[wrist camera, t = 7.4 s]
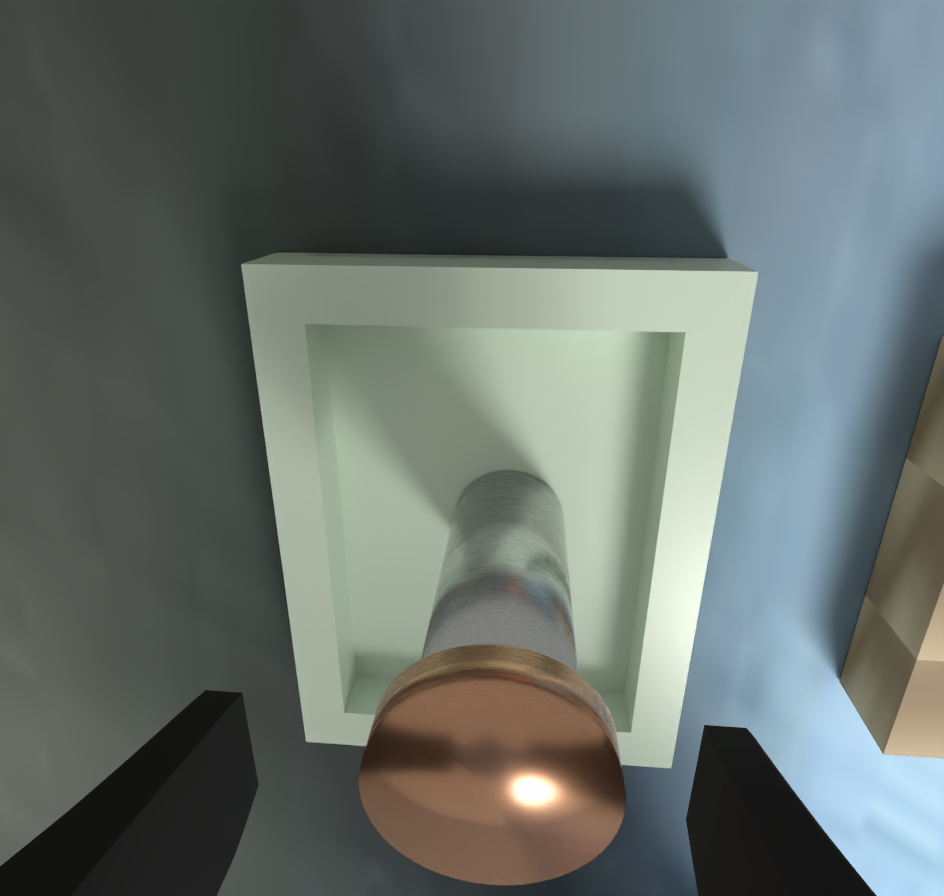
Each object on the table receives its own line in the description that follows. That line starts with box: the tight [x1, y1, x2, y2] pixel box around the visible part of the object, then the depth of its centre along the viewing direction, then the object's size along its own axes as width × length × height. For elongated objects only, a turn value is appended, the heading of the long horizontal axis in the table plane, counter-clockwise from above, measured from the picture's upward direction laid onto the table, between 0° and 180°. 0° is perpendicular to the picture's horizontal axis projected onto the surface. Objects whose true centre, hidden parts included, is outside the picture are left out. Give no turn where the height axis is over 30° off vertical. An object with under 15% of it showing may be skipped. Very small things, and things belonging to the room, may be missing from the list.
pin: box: [359, 470, 626, 885], centre depth 13 cm, size 4×4×8 cm
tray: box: [241, 253, 758, 768], centre depth 16 cm, size 13×10×2 cm
